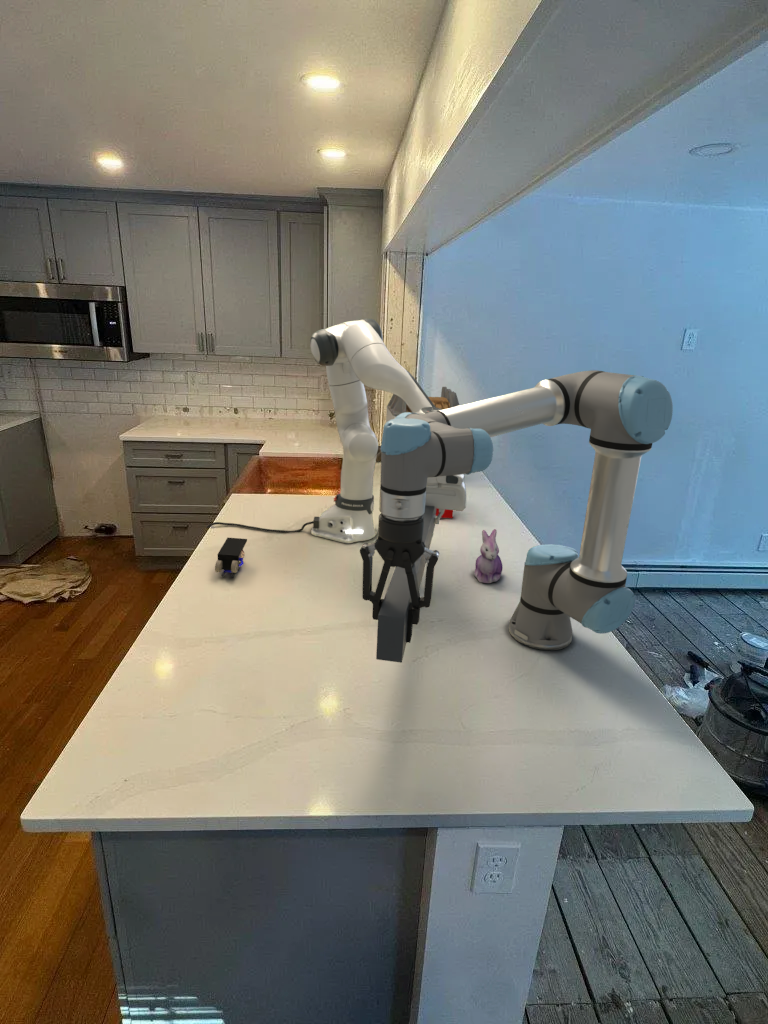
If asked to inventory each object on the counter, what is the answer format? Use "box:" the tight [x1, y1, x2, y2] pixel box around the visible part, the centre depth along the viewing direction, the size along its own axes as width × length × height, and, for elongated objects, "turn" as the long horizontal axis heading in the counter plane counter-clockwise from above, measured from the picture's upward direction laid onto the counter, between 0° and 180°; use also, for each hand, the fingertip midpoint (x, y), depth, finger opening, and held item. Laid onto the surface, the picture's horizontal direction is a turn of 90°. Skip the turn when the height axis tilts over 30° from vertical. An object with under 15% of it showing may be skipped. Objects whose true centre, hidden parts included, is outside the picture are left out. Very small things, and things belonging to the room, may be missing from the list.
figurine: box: [474, 528, 503, 584], centre depth 167 cm, size 9×10×15 cm
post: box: [375, 506, 436, 664], centre depth 125 cm, size 67×4×8 cm, turn 170°
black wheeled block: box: [214, 537, 248, 578], centre depth 166 cm, size 7×8×15 cm
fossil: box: [376, 441, 382, 463], centre depth 299 cm, size 22×10×15 cm
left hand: (425, 522), depth 150 cm, fingers closed on post, 4 cm apart
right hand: (394, 636), depth 101 cm, fingers closed on post, 4 cm apart
